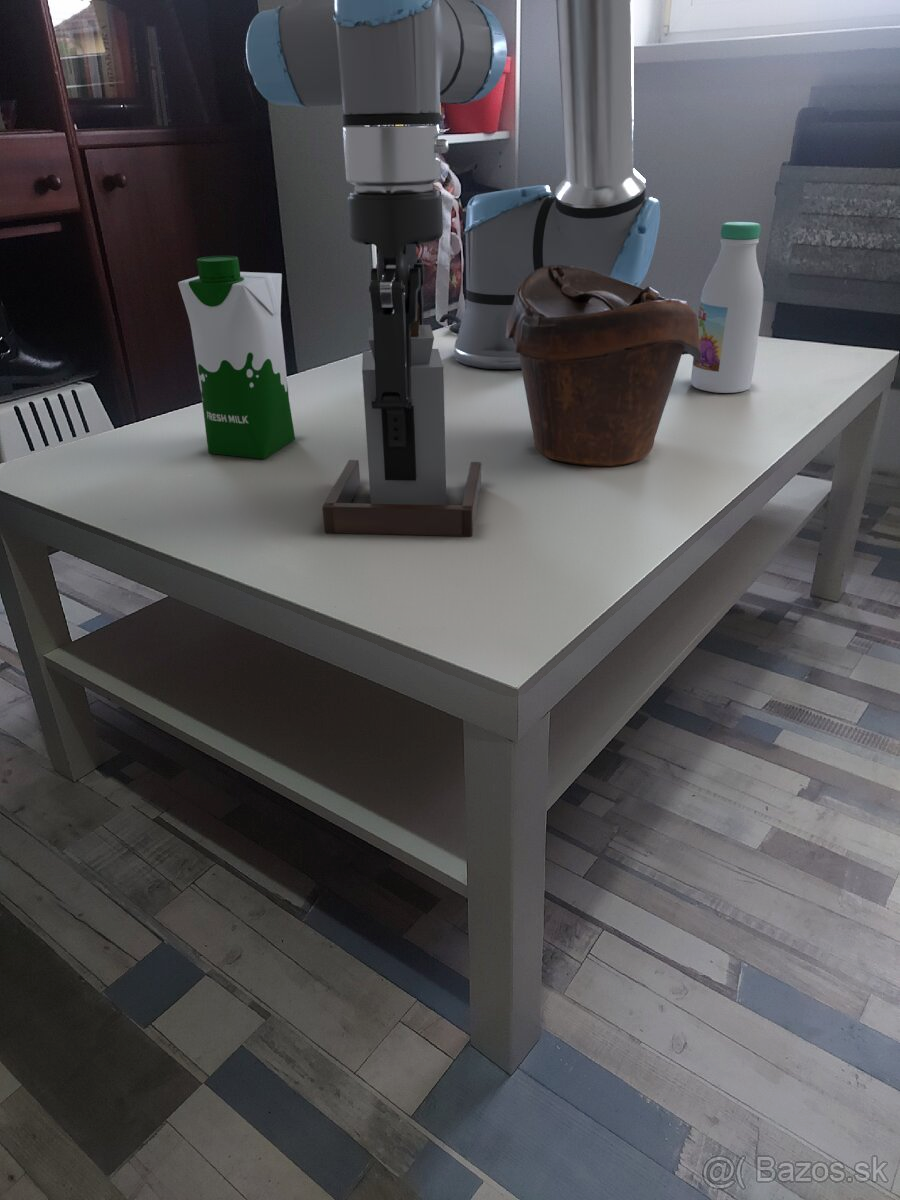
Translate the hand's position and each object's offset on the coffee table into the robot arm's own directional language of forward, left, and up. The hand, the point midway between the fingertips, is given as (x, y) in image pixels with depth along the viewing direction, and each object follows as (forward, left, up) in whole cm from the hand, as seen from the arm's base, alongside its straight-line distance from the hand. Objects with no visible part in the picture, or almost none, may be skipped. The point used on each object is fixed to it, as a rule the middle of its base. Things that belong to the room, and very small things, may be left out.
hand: (406, 465), depth 81 cm
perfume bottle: (0, 0, -4) cm, 4 cm away
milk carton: (-25, -5, -4) cm, 26 cm away
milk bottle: (-11, +55, -4) cm, 56 cm away
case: (-2, +25, -4) cm, 25 cm away
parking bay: (0, 0, -4) cm, 4 cm away
